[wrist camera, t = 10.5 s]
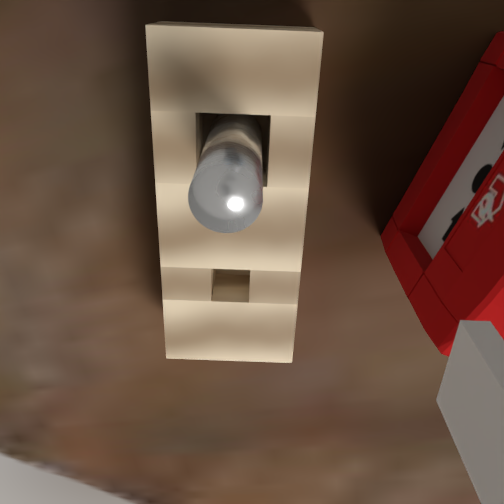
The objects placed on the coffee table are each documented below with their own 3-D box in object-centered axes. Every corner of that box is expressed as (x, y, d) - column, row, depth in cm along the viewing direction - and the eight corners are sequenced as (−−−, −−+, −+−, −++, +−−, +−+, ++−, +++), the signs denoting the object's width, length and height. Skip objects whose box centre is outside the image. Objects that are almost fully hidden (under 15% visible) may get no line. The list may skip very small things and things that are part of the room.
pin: (209, 107, 33) (186, 161, 22) (262, 109, 33) (264, 164, 22) (210, 158, 34) (188, 231, 24) (260, 160, 34) (261, 234, 24)
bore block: (161, 21, 31) (145, 24, 27) (314, 27, 31) (323, 31, 27) (176, 320, 42) (166, 358, 38) (288, 324, 42) (291, 362, 38)
